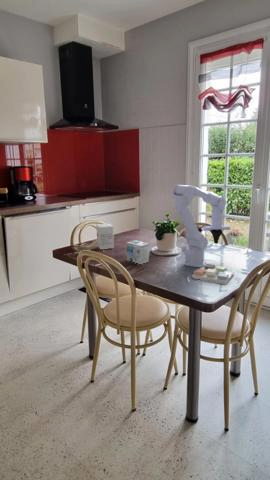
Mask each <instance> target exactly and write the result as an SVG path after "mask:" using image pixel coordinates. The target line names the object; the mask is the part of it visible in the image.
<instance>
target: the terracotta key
mask: <svg viewBox="0 0 270 480" xmlns="http://www.w3.org/2000/svg"><path fill="white" fill-rule="evenodd" d="M193 274H195V275H200V276H203V275H204V274H205V270H201V269H200V268H197V269H195V270H194V271H193Z"/></svg>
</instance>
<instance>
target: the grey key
mask: <svg viewBox="0 0 270 480" xmlns="http://www.w3.org/2000/svg"><path fill="white" fill-rule="evenodd" d="M203 267H204V269H206V270H208V269H216V265H215V264H210V263H206V264H205V265H204V266H203Z"/></svg>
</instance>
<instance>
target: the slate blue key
mask: <svg viewBox="0 0 270 480" xmlns="http://www.w3.org/2000/svg"><path fill="white" fill-rule="evenodd" d="M228 276H229V274H225V273H219V274H218V275H217V279H223V280H226V279H227V278H228Z"/></svg>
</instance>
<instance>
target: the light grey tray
mask: <svg viewBox="0 0 270 480" xmlns="http://www.w3.org/2000/svg"><path fill="white" fill-rule="evenodd" d="M199 269H201V270H205V274H204V275H203V276H200V275H195V274H194V273H193V274H192V275H191V276H192V277H191V279H193V278H194V279H195V280H198V279H200V281H204V282H210V283H217V284H221V285H228V283H229V281H231V279H232V278H233V277H234V274H235V272H232V271H228V270H226V271H225V272H218V271H217V273H216V274H215V275H208V274H206V269H204V266H203V267H201V268H200V267H199ZM214 269H215V270H216V268H214ZM219 273H225V274H229V276H228V278H227V279H226V280H223V279H217V275H218V274H219Z"/></svg>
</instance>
